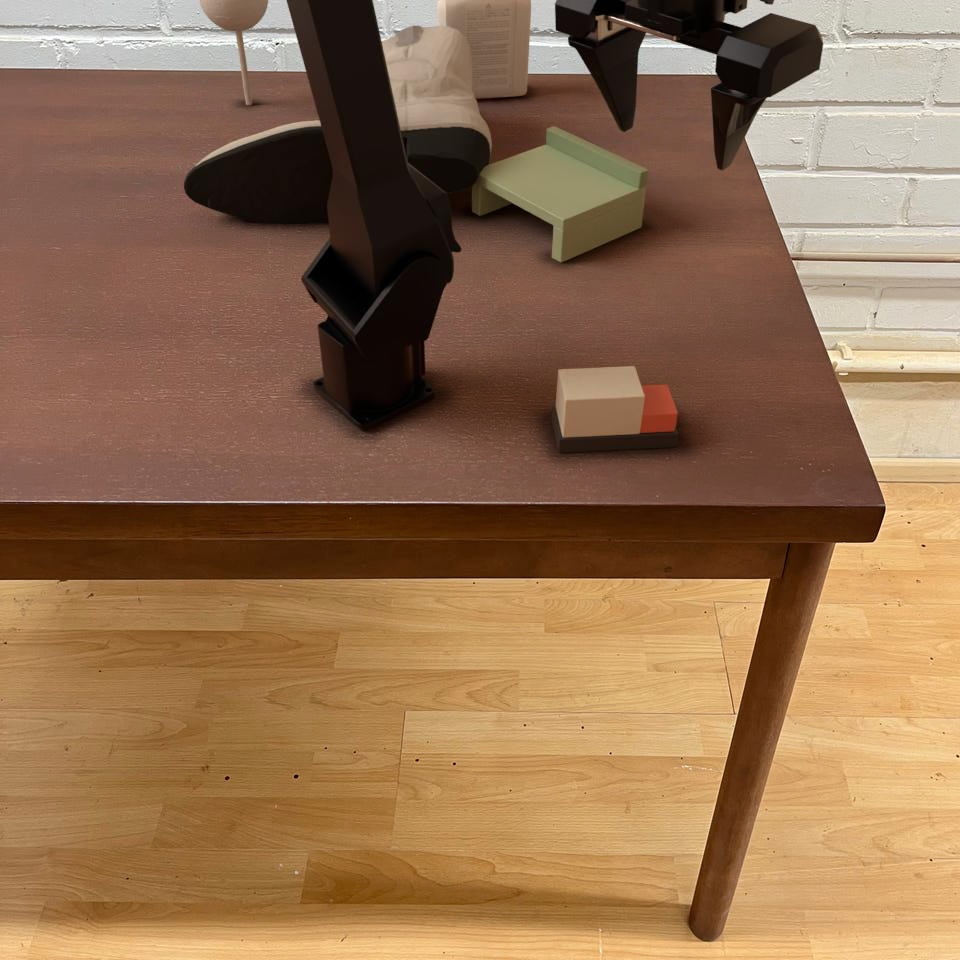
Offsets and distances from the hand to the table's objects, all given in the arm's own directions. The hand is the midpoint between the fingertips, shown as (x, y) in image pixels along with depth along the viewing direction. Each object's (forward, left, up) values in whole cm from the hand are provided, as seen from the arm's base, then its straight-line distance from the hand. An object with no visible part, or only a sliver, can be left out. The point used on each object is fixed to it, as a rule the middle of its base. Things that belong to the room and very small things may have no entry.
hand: (673, 147), depth 73 cm
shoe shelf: (+3, +15, -13) cm, 20 cm away
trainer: (-15, -10, -13) cm, 22 cm away
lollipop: (-5, +56, -13) cm, 57 cm away
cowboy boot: (-5, +36, -12) cm, 38 cm away
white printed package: (+17, +42, -13) cm, 47 cm away
